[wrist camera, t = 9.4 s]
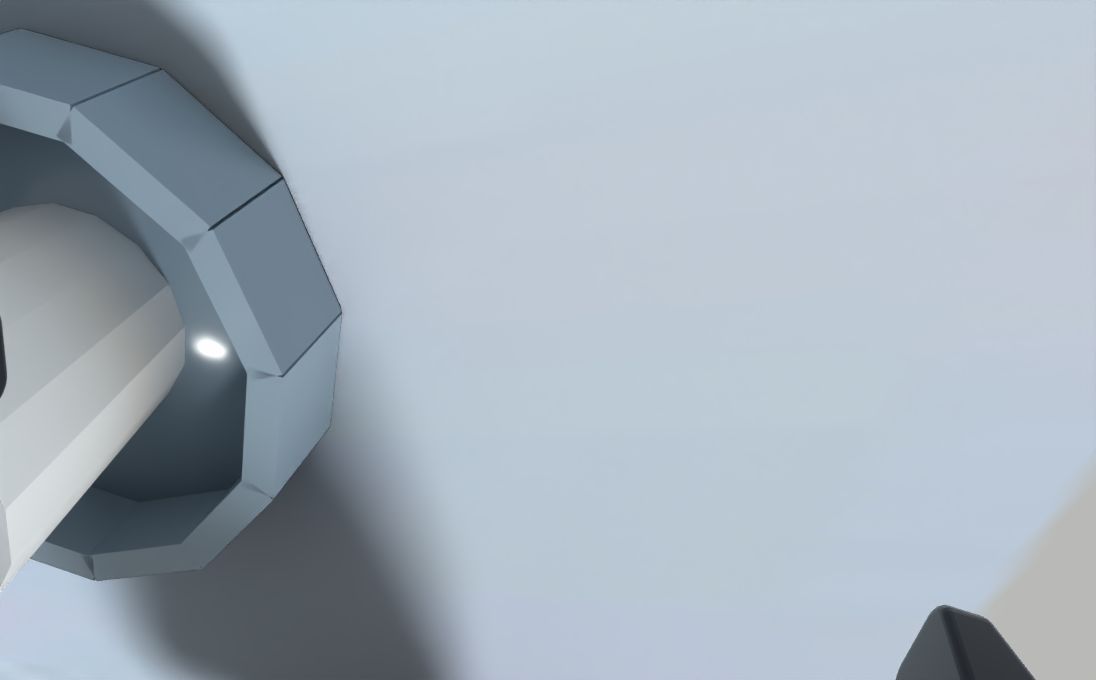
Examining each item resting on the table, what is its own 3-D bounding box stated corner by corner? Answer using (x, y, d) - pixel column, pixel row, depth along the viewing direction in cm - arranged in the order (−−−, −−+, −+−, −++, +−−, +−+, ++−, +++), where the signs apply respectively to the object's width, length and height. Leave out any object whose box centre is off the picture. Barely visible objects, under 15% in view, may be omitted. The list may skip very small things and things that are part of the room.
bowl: (315, 559, 27) (263, 639, 25) (-91, 424, 29) (-181, 485, 26) (362, 125, 21) (298, 171, 18) (-166, -25, 22) (-296, -3, 20)
